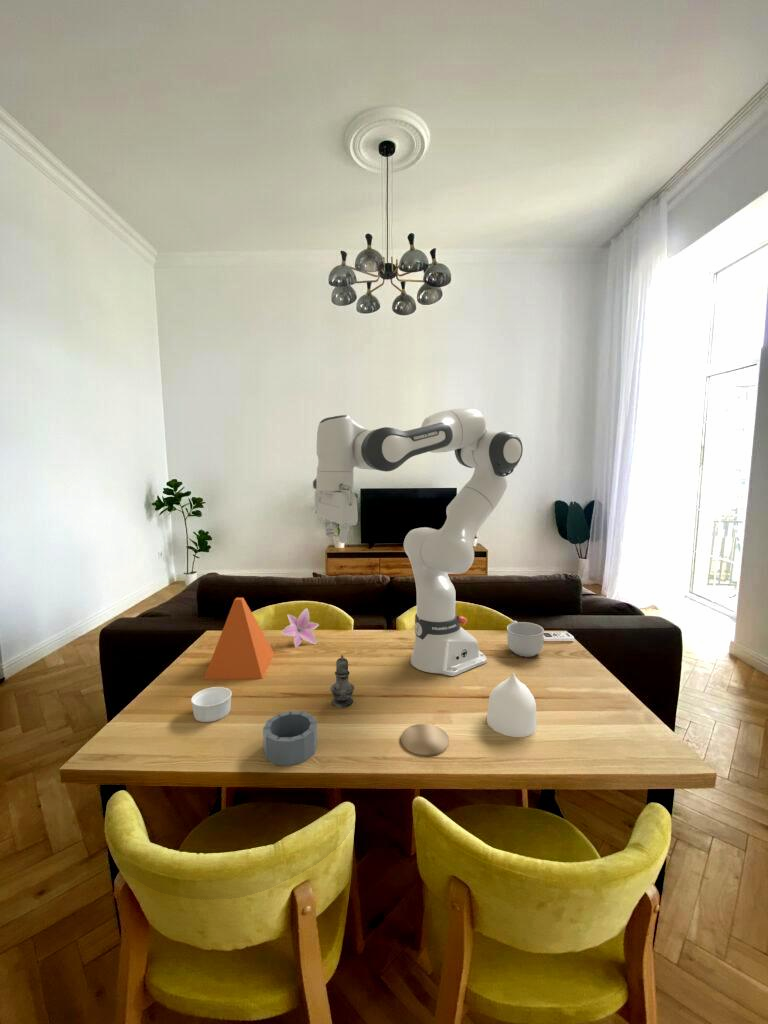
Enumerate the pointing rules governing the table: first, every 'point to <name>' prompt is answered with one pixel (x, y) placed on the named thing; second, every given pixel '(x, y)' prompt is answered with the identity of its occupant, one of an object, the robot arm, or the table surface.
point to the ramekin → (211, 704)
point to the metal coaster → (425, 739)
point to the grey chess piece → (342, 685)
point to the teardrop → (512, 709)
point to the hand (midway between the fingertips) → (335, 539)
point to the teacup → (525, 638)
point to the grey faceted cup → (290, 738)
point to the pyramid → (240, 647)
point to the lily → (301, 628)
